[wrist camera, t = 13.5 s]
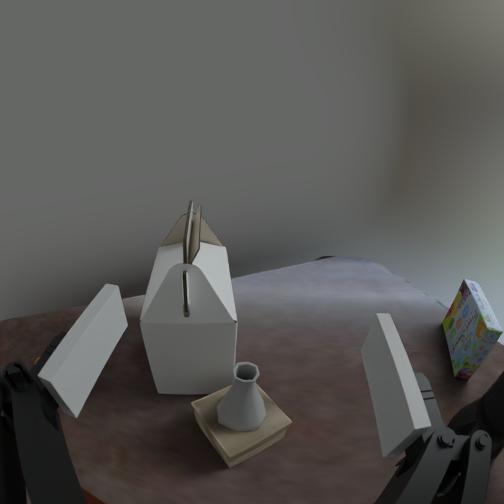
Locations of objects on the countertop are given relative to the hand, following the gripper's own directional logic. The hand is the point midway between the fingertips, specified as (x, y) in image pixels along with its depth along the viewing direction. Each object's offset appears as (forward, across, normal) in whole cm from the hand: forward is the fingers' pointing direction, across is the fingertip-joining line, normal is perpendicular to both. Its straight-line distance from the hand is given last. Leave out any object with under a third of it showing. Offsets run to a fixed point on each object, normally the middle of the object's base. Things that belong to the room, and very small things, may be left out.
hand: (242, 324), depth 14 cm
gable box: (+27, -11, -34) cm, 44 cm away
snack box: (+30, +52, -34) cm, 69 cm away
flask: (+10, 0, -28) cm, 29 cm away
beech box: (+10, 0, -33) cm, 35 cm away
